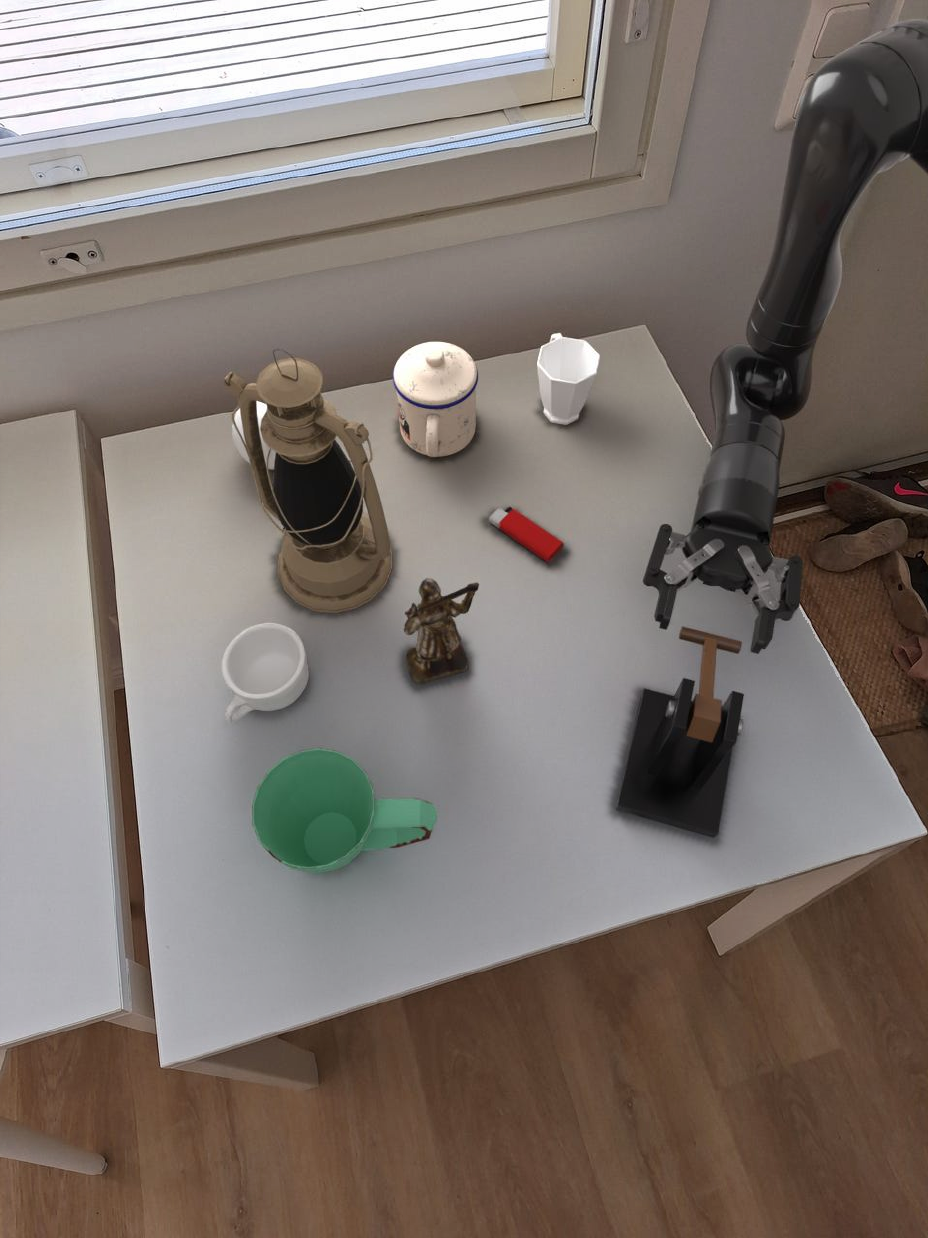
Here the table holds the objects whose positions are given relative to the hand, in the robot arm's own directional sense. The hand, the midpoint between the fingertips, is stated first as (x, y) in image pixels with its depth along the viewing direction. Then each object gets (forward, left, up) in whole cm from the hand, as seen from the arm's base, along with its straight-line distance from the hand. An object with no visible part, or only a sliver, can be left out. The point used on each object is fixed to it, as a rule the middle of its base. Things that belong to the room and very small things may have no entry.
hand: (710, 637), depth 81 cm
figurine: (+25, 0, -7) cm, 25 cm away
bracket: (+3, +10, -6) cm, 12 cm away
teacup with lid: (+27, -28, -7) cm, 39 cm away
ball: (+45, -25, -7) cm, 52 cm away
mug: (+32, +18, -7) cm, 37 cm away
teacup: (+42, +4, -7) cm, 42 cm away
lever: (+2, +6, +1) cm, 6 cm away
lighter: (+17, -15, -7) cm, 23 cm away
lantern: (+37, -11, -7) cm, 39 cm away
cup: (+13, -34, -7) cm, 37 cm away
